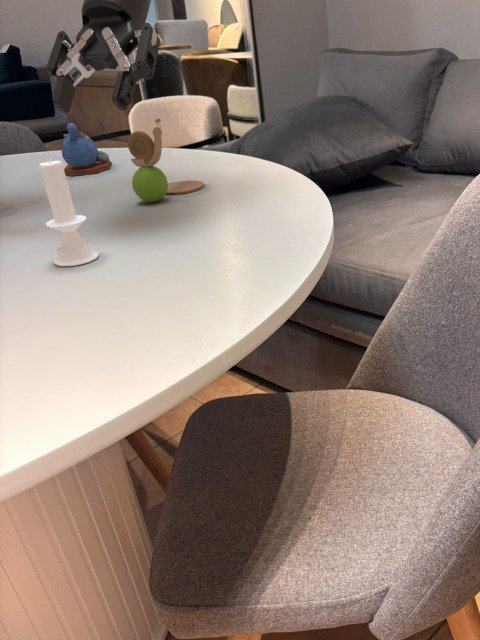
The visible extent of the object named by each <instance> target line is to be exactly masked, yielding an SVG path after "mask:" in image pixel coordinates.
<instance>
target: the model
mask: <svg viewBox="0 0 480 640" xmlns="http://www.w3.org/2000/svg"><path fill="white" fill-rule="evenodd" d="M66 130H67V132H68V133H65V134H63V139H64V140H63V144H62V147H61V156H62V159H63V161H64V162H65V163H66V166H65V167H64V168H63V169H64V172H65V176H66V177H67V176H68V177H80V176H89V175H96V174H100V173H102V172H103V173H104V172H106V171H108V170H110V169H111V168H112V165H113V162H112V161H111V160H110V156H109V154H108V153H107V152H105V151H103V150H102V151H101V150H98V146H97V145H96V143H95V141H94V140H93V139H92V138H90V136H89V135H88V134H86V133H84V132H82V131H78V127H77V125H76V124H75V123H73V122H70V123H68V124H67V125H66Z"/></svg>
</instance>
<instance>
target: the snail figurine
mask: <svg viewBox="0 0 480 640" xmlns="http://www.w3.org/2000/svg"><path fill="white" fill-rule="evenodd" d="M161 122H162V120H161V118H156V119H155V120H154V123H155V124H156V127H154V128H153V129H152V135H153V139H152V136H150V135H149V134H147V133H146V132H144V131H141V130H137V131H134V132H132V133H131V134H130V135H129V136H128V139H127V148H128V150H129V152H130V154H131V156H132V157H134V158H132V157H131V158H130V161H131V162H132V164H133V165H134V166H136V167H138V169H137V170H135V172H134V174H133V175H132V179H131V186H132V189H133V191H134V193H135V195H136V196H137V197H138V198H139V199H140V200H142V201H144V202H146V203H155V202H158V201H160V200H162V199H163V198H164V197H165V196H166V195H165V194H166V192H167V189H168V183H169V181H168V177H167V176H166V174H165V173H164V171H163V170H162V169H161V168H159V167H157V166H155V165H156V164H158V163H159V162H160V160H161V157H162V151H163V141H162V140H163V139H162V136H163V130H162V129H161V127H160V126H159V125H161Z"/></svg>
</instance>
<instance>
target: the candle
mask: <svg viewBox="0 0 480 640" xmlns="http://www.w3.org/2000/svg"><path fill="white" fill-rule="evenodd" d="M38 169H39V172H40V174H41V178H42V183H43V188H44V190H45V192H46V196H47V200H48V203H49V206H50V209H51V214H52V217H53V218H52V219H51V220H49V221H47V222H46V223H45V226H46V227H48V228H51V229H53V230H56V231H59V232H60V233H61V238H60V244H59V247H57V251H56V252H57V257H56V258H54V261H53V264H55V265H56V266H59V267H75V266H80V265H84V264H88V263H90V262H93V261H94V260H96V259H97V258H98V257H99V255H100V254H99V252H97V250H93V248H92V246H91V245H90V243H89V242H88V241H87V242H86V241H85V240H84V238H83V237H82V236H81V235H80V234H79V232H78V230H77V229H78V228H79V227H80V226H81V225H82V224H83V223H84V222H85V221H86V220H87V216H85V215H81V214H77V212H76V209H75V206H74V202H73V199H72V195H71V191H70V188H69V183H68V180H67V175H65V172H64V169H65V168H64V165H63V163H62V162H61V160H52V157H49V159H48V161H45V162H40V163H39V165H38Z"/></svg>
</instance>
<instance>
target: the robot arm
mask: <svg viewBox="0 0 480 640" xmlns="http://www.w3.org/2000/svg"><path fill="white" fill-rule="evenodd" d="M151 3H152V0H83V3H82V5H81V19H82V20H81V21H82V26H81V28H80V30H79V31H78V32H77V34H76V35H69V34H68V33H67V32H66V31H65V30H60V31H59V32H58V33H57V35H56V37H55V41H54V44H53V46H52V49H51V52H50V54H49V55H50V56H49V57H48V61H47V64H46V67H45V72H47V73H48V74H49V75H50V76H51V77H52V79H53V80H54V81H55V82H56V83H55V86H54V90H53V94H52V97H51V98H52V102H53V105H54V106H55V107H56V108H57V109H58V110H59V112H61V113H63V114H68V113H70V110H71V107H72V103H73V99H74V96H75V93H76V86H77V85H79V83H80V82H81V81H82V80H83V79H89V78H90V77H91V76H92V75H93V74H94V73H95V72H96V71H103V70H105V69H108V70H117V68H118V67H119V68H120V70H121V72H118V73H117V77H116V81H115V84H114V87H113V91H112V95H111V101H112V103H113V105H114V106H116V108H117V109H118V110H119V111H127V110H128V106H130V104H131V103H132V101H133V98H134V94H135V89H136V85H138V84H139V83H140V82H141V80H142V79H146V80H148V81H149V80H152V79H153V78H154V76H155V71H156V65H157V61H158V57H159V51H160V46H161V38H160V37H159V35H158V34H157V32H156V31H155V29H154V28H153V26H152V25H151V23H150V22H147V19H148V14H149V11H150V7H151ZM135 50H136V54H135V59H134V62H133V60H132V58H131V56H130V55H131V54H132V53H133V52H134V51H135ZM80 56H82V58H83V60H84V61H85V62H86V63H87V64H86V65H83V64H82V63H81V62H80V59H79V58H80ZM58 66H59V67H58ZM74 68H76V71H75V72H74V73H73V74H72V75H71V74H70V72H71V71H72V70H73V69H74Z"/></svg>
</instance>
